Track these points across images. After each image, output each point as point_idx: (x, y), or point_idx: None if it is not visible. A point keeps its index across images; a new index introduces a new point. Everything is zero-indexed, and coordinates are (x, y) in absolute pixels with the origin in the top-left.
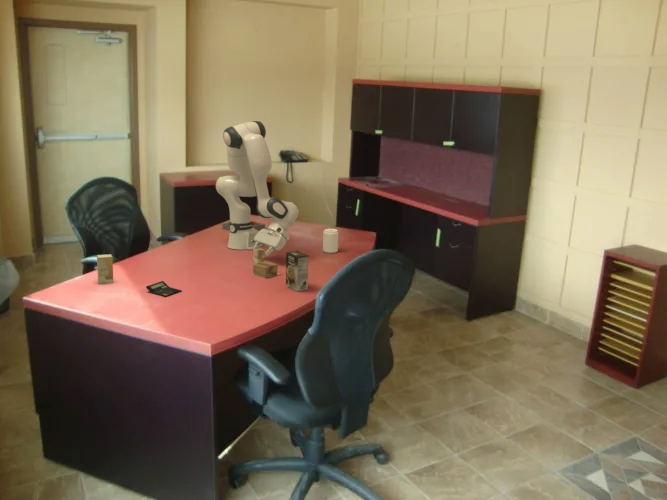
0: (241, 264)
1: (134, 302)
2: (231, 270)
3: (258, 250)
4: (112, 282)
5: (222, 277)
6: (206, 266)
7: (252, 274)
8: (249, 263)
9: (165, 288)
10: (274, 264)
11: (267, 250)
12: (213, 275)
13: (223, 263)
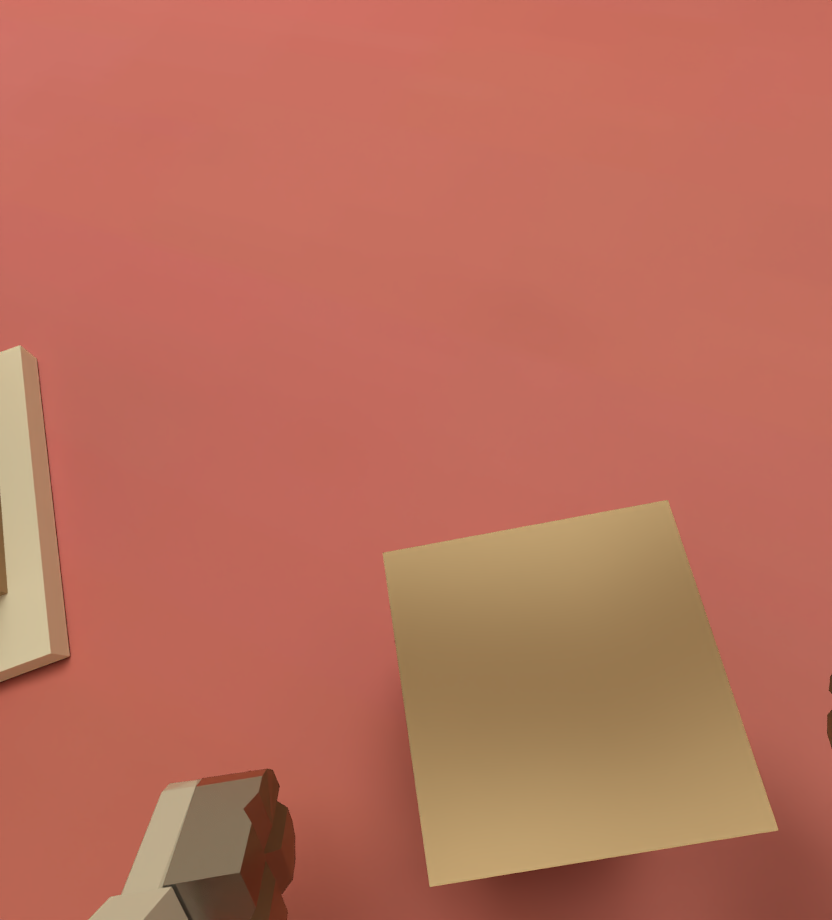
0: (659, 415)
1: None
2: (403, 206)
3: (400, 601)
4: None
5: (197, 72)
6: (709, 6)
7: (5, 350)
8: None
9: None
10: None
11: (133, 905)
12: (315, 15)
13: (804, 196)
